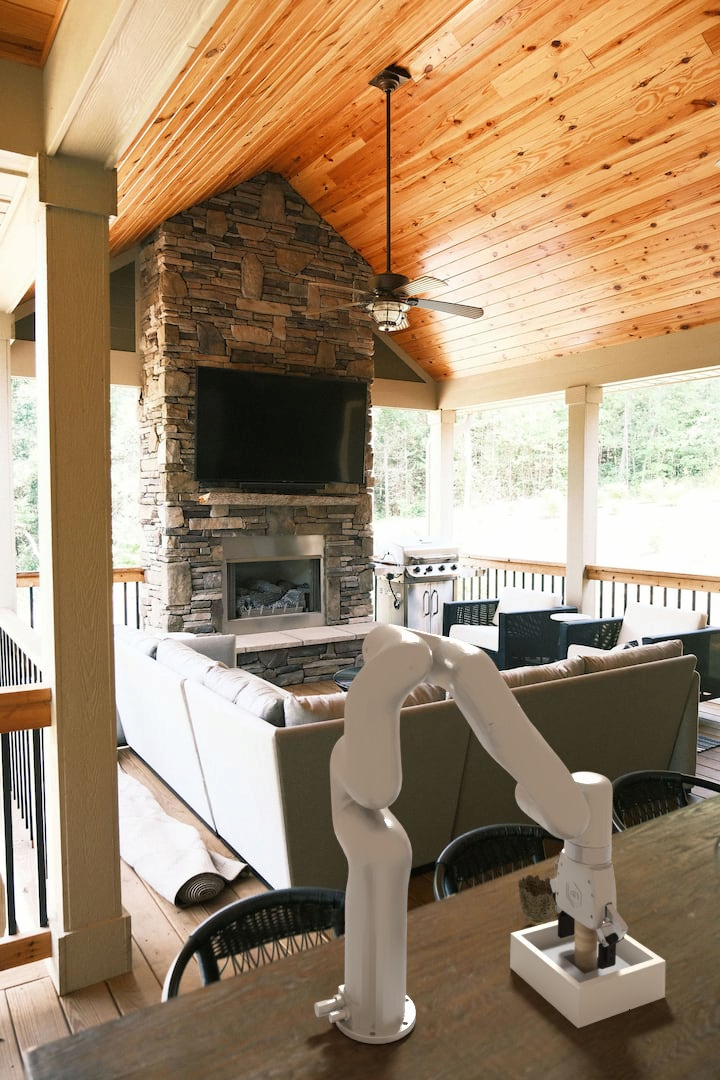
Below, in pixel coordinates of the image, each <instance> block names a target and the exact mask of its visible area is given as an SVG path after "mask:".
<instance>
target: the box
mask: <svg viewBox="0 0 720 1080" xmlns="http://www.w3.org/2000/svg"><path fill="white" fill-rule="evenodd" d="M603 923H605V922H604V921H603ZM603 929H604V931H605V934H606V936H608V935H610V934H609V931H608V929H607V927H605V928H603ZM599 943H601V940H600V938H599V935H598V934H597V970H594V971H591V972H588V973H585V974H584V973H583V972H581V971H580V970H579V969H578V968H576V967H575V966H574V957H575V933H574V935H571V936H568V937H564V938H560V937H558V919H557V920H554V921H549V922H548V923H546V924H542V925H538V926H535V927H532V926H531V927H527V928H524V929H522V930H517V931H514V932H510V950H509V952H510V953H509V955H510V957H509V959H510V963H509V966H510V969H511V970H513V971H514V972H515V974H517V975H518V976H519V977H520V978H522V980H523V981H525V982H526V983H527V984H528V985H529V986H530V987H531V988H532V989H534V991H536V992H537V993H538V994H539V995H540V996H542V998H544V999H545V1000H546V1001H547V1002H548V1003H549V1004H550V1005H552V1006H553V1007H554V1008H555V1009H556V1010H557V1011H558V1012H559V1013H561V1015H562V1016H564V1017H565V1018H566V1019H567V1020H568V1021H569V1022H570V1023H571V1024H573V1025H574V1026H575V1027H576V1028H577V1029H580V1028H583V1027H585V1026H588V1025H592V1024H593V1023H596V1022H599V1021H602V1020H605V1019H607V1018H611V1017H613V1016H616V1015H620V1014H621V1013H625V1012H627V1011H629V1009H630V1010H633V1009H636V1008H638V1007H641V1006H644V1005H646V1004H649V1003H652V1002H655V1001H657V1000H661V999H664V998H665V997H666V963H667V962H666V960H665V959H663V958H662V957H661V956H659V955H657V954H656V953H654V951H651V950H650V948H648V947H647V946H644V945H643V944H641V943H640V942H638V941H637V940H636V939H634V938H633V937H631V936H630V935H628V934H627V933H626V934H625V936H624V939H622V940H621V941H619V943H616V964H615V965H614V966H611V967H608V968H605V969H600V968H599V967H598V945H599Z"/></svg>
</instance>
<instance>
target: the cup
mask: <svg viewBox="0 0 720 1080" xmlns="http://www.w3.org/2000/svg"><path fill="white" fill-rule="evenodd" d="M550 880H551V879H550V877H549V876H547V877H545V879H544V880H543V879H540V875H535V877H534V876H533V875H531V874H528V875H527V876H526V877H524V876H522V878H521V879H519V880H518V881H517V882H518V892H519V903H520V907H521V910H522V912H523V914H524V915H525V916H526V917H527V922H528V924H529V926H531V927H535V926H538V925H542V924H546V923H549V922H548V921H549V920H550V919H551V918H553V915H554V914H555V912H556V906H557V905H556V903H555V901H554V899H553V892H552V888H551V884H550Z"/></svg>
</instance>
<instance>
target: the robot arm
mask: <svg viewBox="0 0 720 1080" xmlns="http://www.w3.org/2000/svg"><path fill="white" fill-rule="evenodd" d="M361 650H362V651H361V652H362V653H361V654H362V657H363V660H364V663H365V664H364V665H363V666H362V667H361V669H360V670H359V671H358V673H357V674H356V675H355V676H354V679H353V680H352V682H351V683H350V685H349V688H348V689H347V692H346V696H345V699H344V700H345V701H344V709H343V710H344V713H343V714H344V715H343V716H344V717H343V720H344V723H343V725H344V727H343V728H344V730H343V735H342V736H340V738H339V739H338V740H337V741H336V743H335V744H334V747H333V748H332V751H331V754H330V759H329V760H330V761H329V777H330V778H329V780H330V781H329V783H330V797H331V815H332V825H333V830H334V834H335V836H336V839H337V842H338V843H339V845H340V847H341V849H342V850H343V853H344V855H345V857H346V859H347V863H348V877H347V883H346V887H345V888H346V890H345V901H344V923H345V924H344V984H341V985H339V986H338V991H337V992H338V994H337V993H336V994H334V995H333V997H332V998H331V999H324V1000H321V1001H318V1002H314V1005H313V1007H314V1014H315V1016H316V1017H317V1018H320V1017H325V1016H327V1015H328V1020H329V1023H330V1024H333V1023H335V1024H336V1026H337V1028H338V1029H339V1030H340V1032H342V1033H343V1034H344V1035H345V1036H347V1037H348V1038H350V1039H352V1040H355V1041H357V1042H360V1043H364V1044H369V1045H370V1044H372V1045H381V1044H382V1045H383V1044H388V1043H392V1042H395V1041H398V1040H401V1039H402V1038H405V1036H406V1035H408V1034H409V1033H410V1032H412V1030H413V1028H414V1027H415V1024H416V1020H417V1019H416V1018H417V1016H416V1015H417V1011H416V1010H417V1009H416V1005H415V1004H414V1002H413V1000H411V998H410V997H409V996H408V995H407V951H408V950H407V943H408V942H407V938H408V935H407V934H408V933H407V932H408V929H407V928H408V912H407V911H408V893H409V892H408V890H409V889H408V888H409V883H410V877H411V870H412V861H413V850H412V845H411V842H410V839H409V837H408V833H407V832H406V830H405V829H404V826H403V825H402V824H401V823H400V822H399V820H398V818H396V816H395V815H394V814H393V813H392V812H391V810H390V809H389V806H391V805H392V804H394V802H395V801H396V800H397V798H398V796H399V794H400V793H401V790H402V783H403V769H402V753H401V736H400V734H401V733H400V731H401V730H400V729H401V728H400V727H401V723H400V721H401V712H402V711H401V710H402V708H403V705H404V703H405V701H406V699H407V698H408V696H409V695H410V694H411V693H412V692H413V691H414V690H415V689H417V688H418V687H419V686H420V685H421V684H426V685H431V686H437V687H440V688H442V689H443V690H444V691H447V692H448V693H449V695H450V697H451V698H452V699H453V701H454V703H455V704H456V706H457V707H458V709H459V710H460V712H461V714H462V715H463V717H464V718H465V720H466V721H467V723H468V724H469V726H470V728H471V729H472V732H473V733H474V734H475V736H476V737H477V739H478V741H479V742H480V744H481V746H482V747H483V748H484V749H485V750H486V752H487V753H488V754H489V756H490V757H492V759H494V761H496V763H497V764H499V766H501V768H503V769H504V770H506V772H507V773H509V774H510V776H512V778H513V779H514V780H515V781H516V782H517V783H516V786H515V790H514V797H515V801H516V803H517V805H518V807H519V809H520V810H521V811H522V812H524V814H526V815H527V816H528V817H529V818H531V819H532V820H533V821H534V822H536V823H537V824H539V825H540V826H541V827H542V828H543V829H545V830H546V831H547V832H548V833H549V834H551V835H552V836H554V837H555V838H557V839H561V840H563V841H564V843H563V844H564V845H563V849H562V850H561V855H560V856H559V858H558V859H559V864H558V870H557V878H555V879H554V878H551V879H550V884H551V888H552V892H553V899H554V901H555V903H556V908H555V912H556V913H557V914H558V915H557V920H558V937H560V938H564V937H568V936H571V935H574V933H575V919H576V920H577V921H578V922H580V923H581V924H583V925H584V926H586V927H587V928H589V929H591V930H596V931H597V933H598V935H599V938H600V940H601V943H599V945H598V967H599V968H600V969H605V968H608V967H611V966H614V965H615V964H616V943H619V941H621V940H622V939H624V936H625V934H627V932H628V930H629V927H628V925H627V923H626V922H625V920H624V919H623V917H621V914H620V913H618V911H617V890H616V889H617V888H616V887H617V886H616V880H615V879H616V877H615V872H614V866H613V864H612V845H613V844H612V840H613V839H612V834H613V831H612V830H613V797H614V795H613V792H614V791H613V785H612V782H611V781H610V779H609V778H608V777H606V776H605V775H602V774H600V773H596V772H593V771H577V772H572V773H571V772H570V770H569V769H568V768H567V766H566V765H565V764H564V762H563V761H562V760H561V758H560V756H558V754H557V753H556V752H555V751H554V750H553V748H552V747H551V746H550V745H549V743H548V742H547V741H546V739H544V737H543V736H542V734H541V732H539V730H538V729H537V727H536V726H534V725H533V723H532V722H531V721H530V719H529V718H528V716H527V715H526V713H525V712H524V711H523V709H522V707H521V705H520V704H519V702H518V700H517V698H516V697H515V695H514V694H513V692H512V690H511V689H510V686H508V684H507V683H506V681H505V679H504V677H503V675H502V674H501V672H500V671H499V669H498V668H497V666H496V664H495V662H494V661H493V659H492V658H491V657H490V656H489V655H488V653H486V652H485V651H484V650H483V649H482V648H480V647H477V646H475V645H472V644H470V643H468V642H465V641H462V640H459V639H456V638H453V637H447V636H443V635H438V634H433V633H429V632H424V631H420V630H417V629H414V628H413V629H412V628H407V627H405V626H402V625H396V624H392V623H389V624H381V625H378V626H376V627H374V628H373V629H371V630H370V631H369V632H368V633H367V635H366V636H365V638H364V639H363V643H362V647H361ZM603 921H604V922H605V923H603ZM605 927H607V929H608V931H609V934H610V935H608V936H606V934H605V931H604V929H603V928H605Z"/></svg>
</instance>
